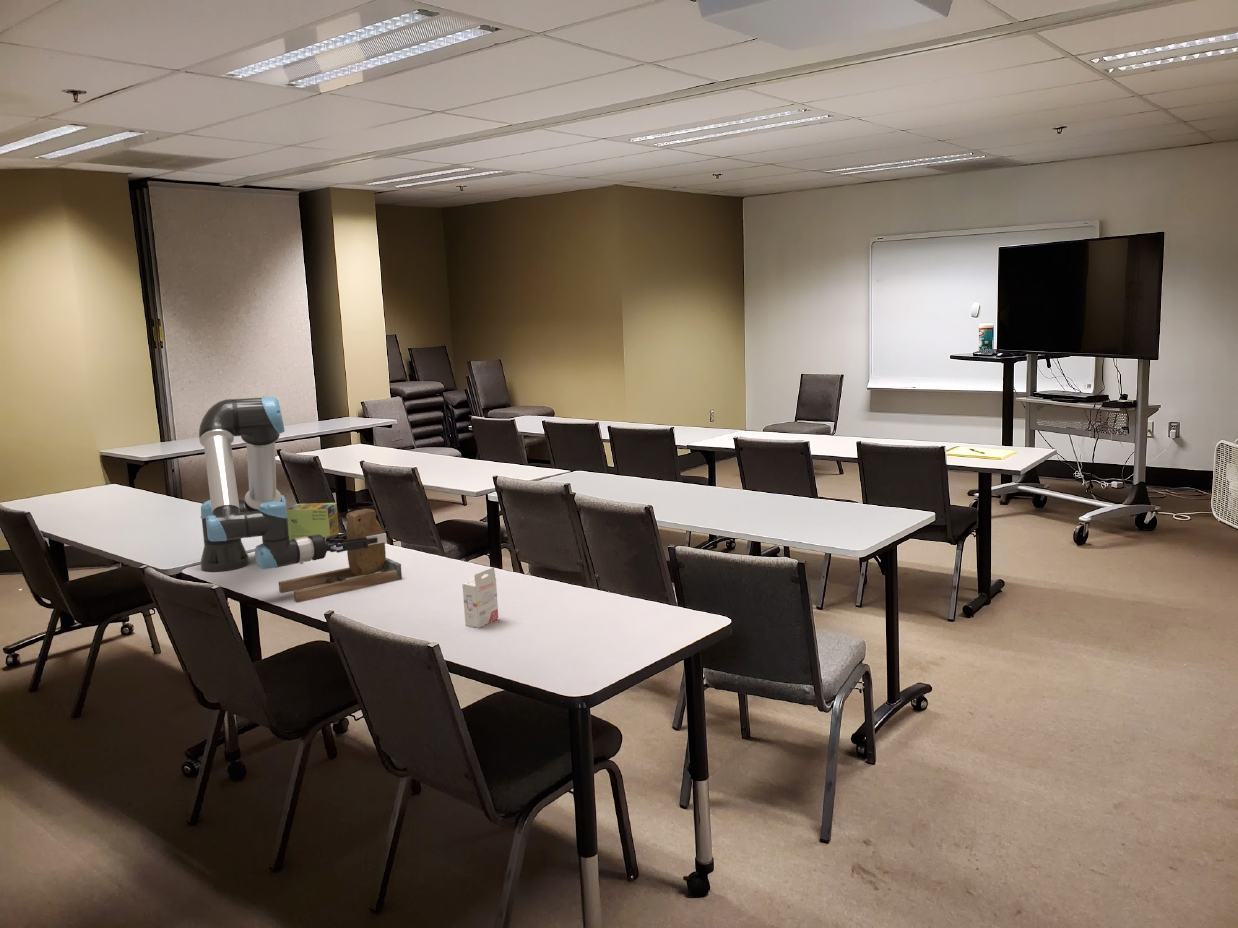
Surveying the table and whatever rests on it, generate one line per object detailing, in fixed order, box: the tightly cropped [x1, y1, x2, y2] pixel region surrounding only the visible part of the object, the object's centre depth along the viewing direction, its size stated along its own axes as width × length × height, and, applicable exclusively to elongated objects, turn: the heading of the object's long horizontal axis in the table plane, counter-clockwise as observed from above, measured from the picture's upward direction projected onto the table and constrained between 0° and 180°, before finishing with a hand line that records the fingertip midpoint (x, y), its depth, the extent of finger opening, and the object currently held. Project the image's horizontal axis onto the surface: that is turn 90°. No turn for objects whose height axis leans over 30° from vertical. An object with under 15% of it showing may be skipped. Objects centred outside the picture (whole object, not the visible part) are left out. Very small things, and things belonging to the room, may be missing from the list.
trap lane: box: [278, 557, 403, 603], centre depth 287 cm, size 15×34×5 cm, turn 129°
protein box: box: [286, 502, 340, 540], centre depth 334 cm, size 10×15×16 cm
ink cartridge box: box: [462, 567, 499, 629], centre depth 248 cm, size 9×5×15 cm, turn 148°
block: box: [345, 508, 387, 575], centre depth 290 cm, size 11×8×20 cm
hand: (380, 535), depth 293 cm, fingers closed on block, 7 cm apart
